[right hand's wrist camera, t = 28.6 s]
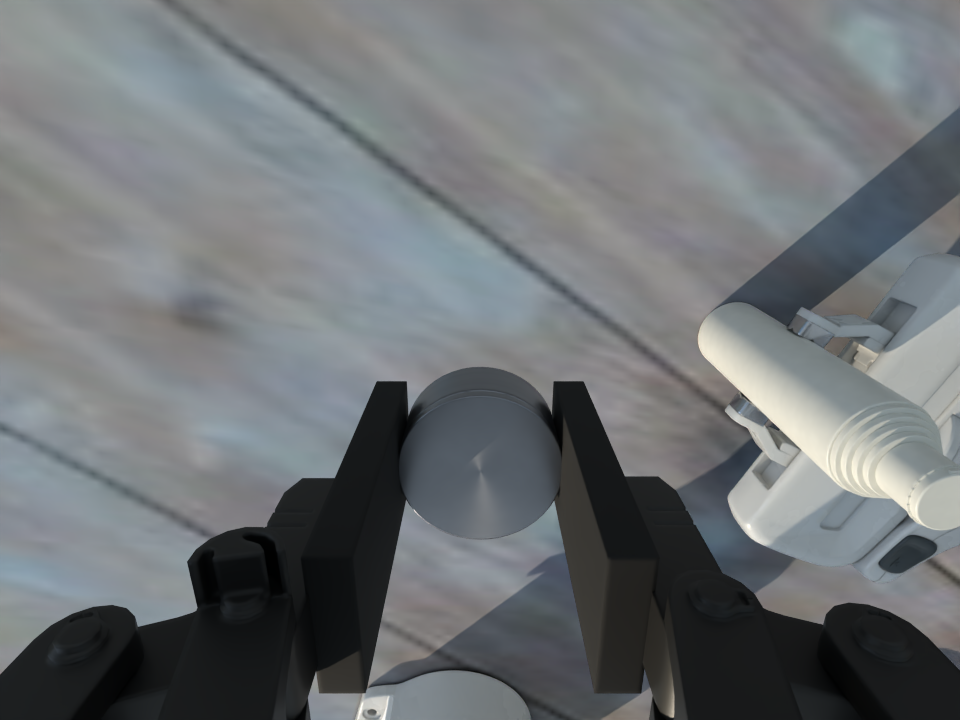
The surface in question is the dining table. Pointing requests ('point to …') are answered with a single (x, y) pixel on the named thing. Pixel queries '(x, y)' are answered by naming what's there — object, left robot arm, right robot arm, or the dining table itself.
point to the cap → (480, 454)
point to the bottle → (836, 414)
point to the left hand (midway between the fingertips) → (765, 364)
